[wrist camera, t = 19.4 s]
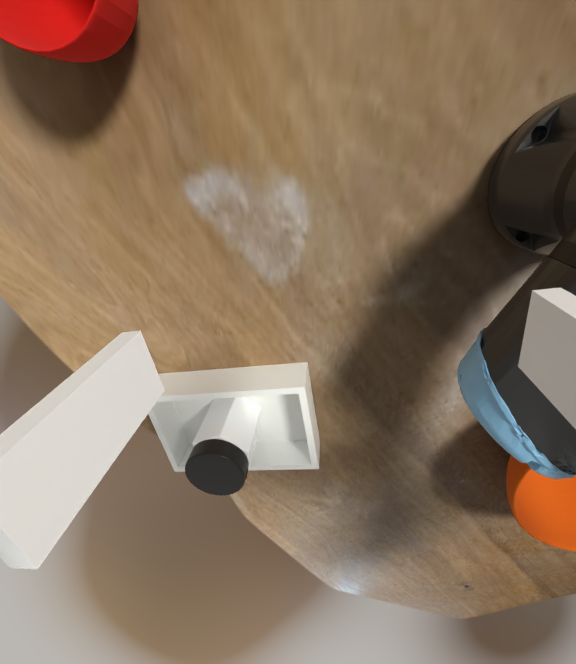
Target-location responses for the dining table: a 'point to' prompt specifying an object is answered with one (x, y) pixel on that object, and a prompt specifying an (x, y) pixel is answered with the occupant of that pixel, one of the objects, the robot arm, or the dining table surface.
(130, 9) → the ceramic cup
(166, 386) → the bin
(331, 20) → the dining table surface
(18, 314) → the dining table surface
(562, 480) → the bowl
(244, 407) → the jar
